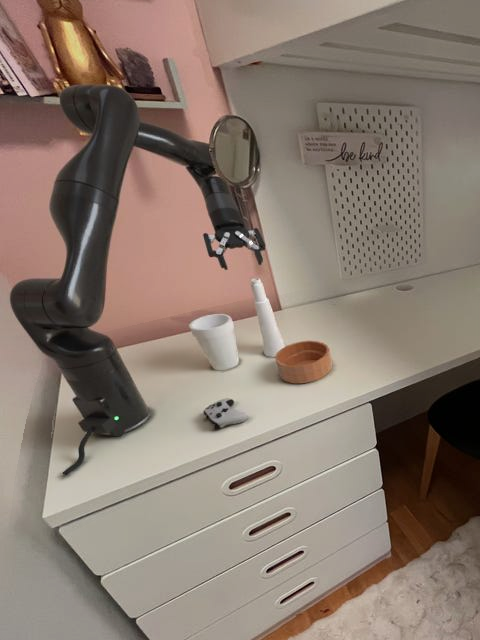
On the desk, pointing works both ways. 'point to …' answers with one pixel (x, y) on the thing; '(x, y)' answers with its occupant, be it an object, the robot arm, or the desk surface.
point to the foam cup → (216, 340)
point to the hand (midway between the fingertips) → (243, 266)
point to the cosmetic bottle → (266, 320)
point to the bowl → (304, 361)
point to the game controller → (224, 413)
